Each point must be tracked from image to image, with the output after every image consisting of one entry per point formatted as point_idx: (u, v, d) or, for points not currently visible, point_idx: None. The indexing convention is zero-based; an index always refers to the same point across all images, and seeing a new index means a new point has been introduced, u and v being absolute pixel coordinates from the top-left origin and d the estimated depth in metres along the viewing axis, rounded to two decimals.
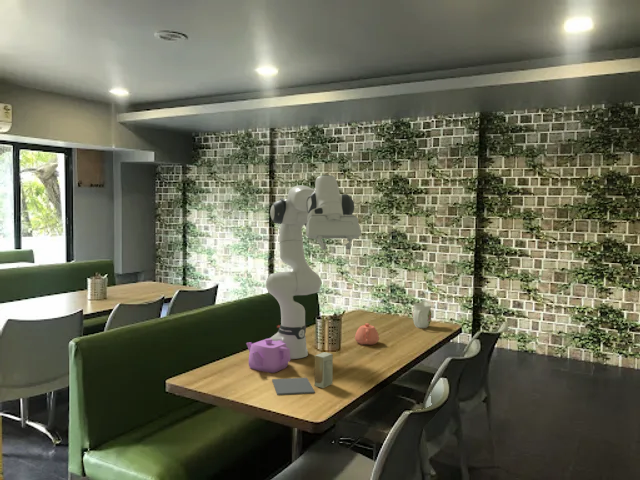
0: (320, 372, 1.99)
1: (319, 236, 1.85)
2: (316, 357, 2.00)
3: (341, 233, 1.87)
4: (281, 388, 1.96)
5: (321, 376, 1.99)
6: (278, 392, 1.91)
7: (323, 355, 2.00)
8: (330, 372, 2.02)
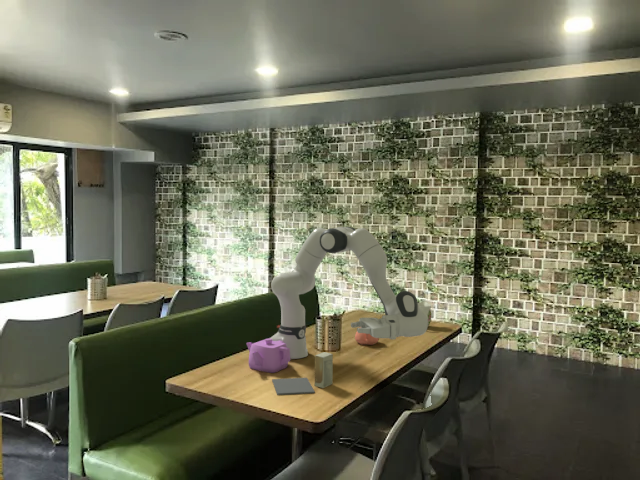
0: (320, 372, 1.99)
1: (369, 333, 1.98)
2: (316, 357, 2.00)
3: None
4: (281, 388, 1.96)
5: (321, 376, 1.99)
6: (278, 392, 1.91)
7: (323, 355, 2.00)
8: (330, 372, 2.02)
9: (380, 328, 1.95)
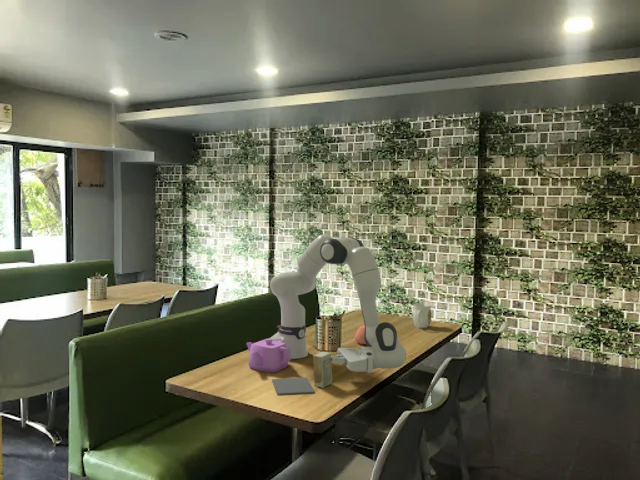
0: (319, 372, 1.99)
1: None
2: (314, 357, 1.99)
3: None
4: (281, 388, 1.96)
5: (320, 376, 1.98)
6: (278, 392, 1.91)
7: (321, 355, 1.99)
8: (330, 371, 2.02)
9: (357, 362, 1.94)
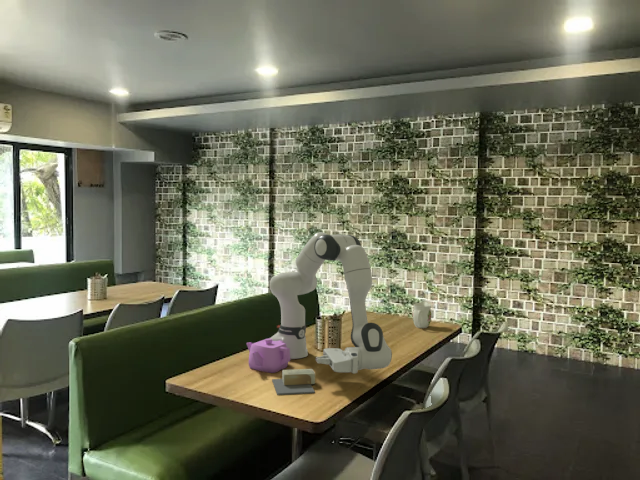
0: (299, 376, 2.00)
1: None
2: (285, 382, 1.99)
3: None
4: (281, 388, 1.96)
5: (303, 375, 2.00)
6: (278, 392, 1.91)
7: (283, 376, 2.00)
8: (300, 369, 2.05)
9: (341, 362, 1.93)
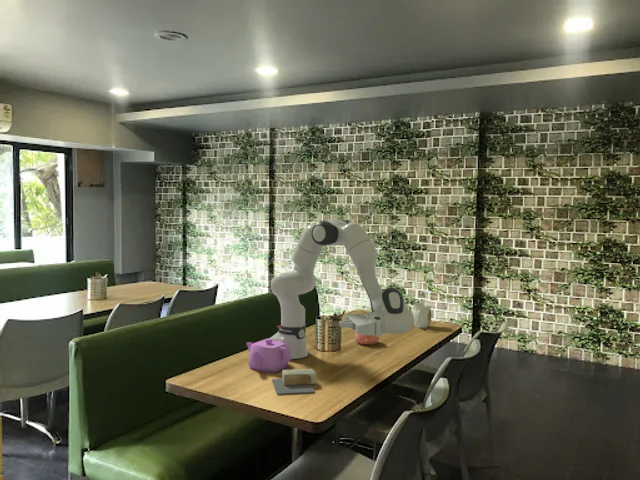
0: (299, 376, 2.00)
1: (351, 327, 2.01)
2: (285, 382, 1.99)
3: None
4: (281, 388, 1.96)
5: (303, 375, 2.00)
6: (278, 392, 1.91)
7: (283, 376, 2.00)
8: (300, 369, 2.05)
9: (365, 325, 1.94)
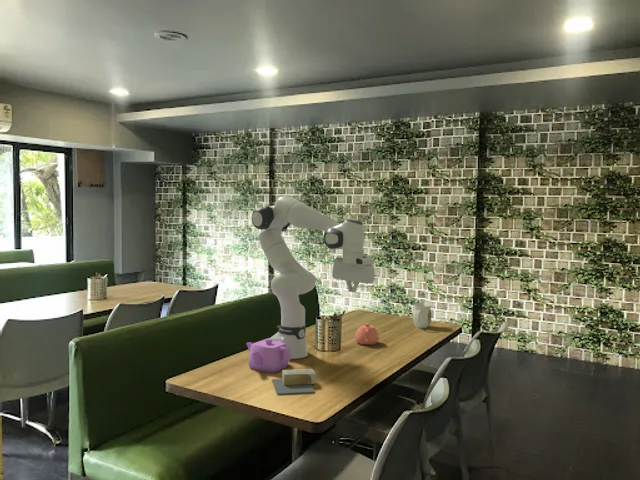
0: (299, 376, 2.00)
1: None
2: (285, 382, 1.99)
3: None
4: (281, 388, 1.96)
5: (303, 375, 2.00)
6: (278, 392, 1.91)
7: (283, 376, 2.00)
8: (300, 369, 2.05)
9: (369, 276, 2.08)
